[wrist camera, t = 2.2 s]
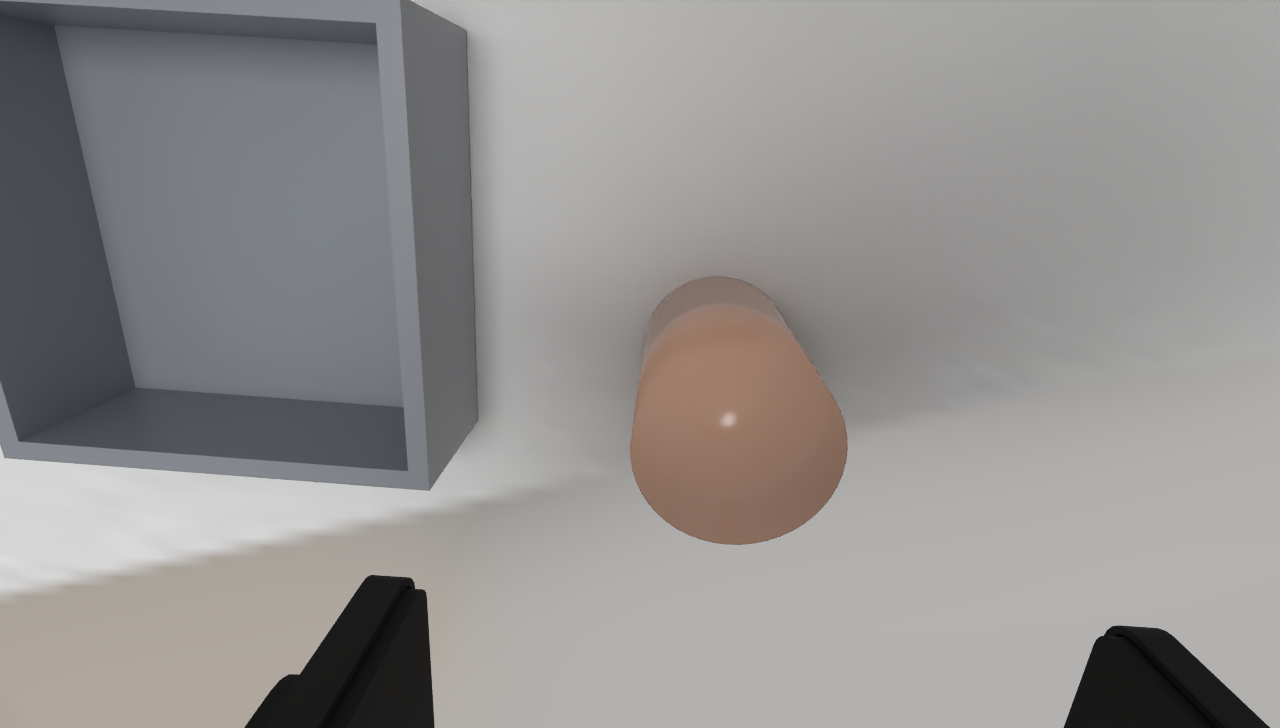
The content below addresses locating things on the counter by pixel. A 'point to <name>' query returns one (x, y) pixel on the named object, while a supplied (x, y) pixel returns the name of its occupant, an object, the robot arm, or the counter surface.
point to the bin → (236, 238)
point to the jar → (732, 418)
